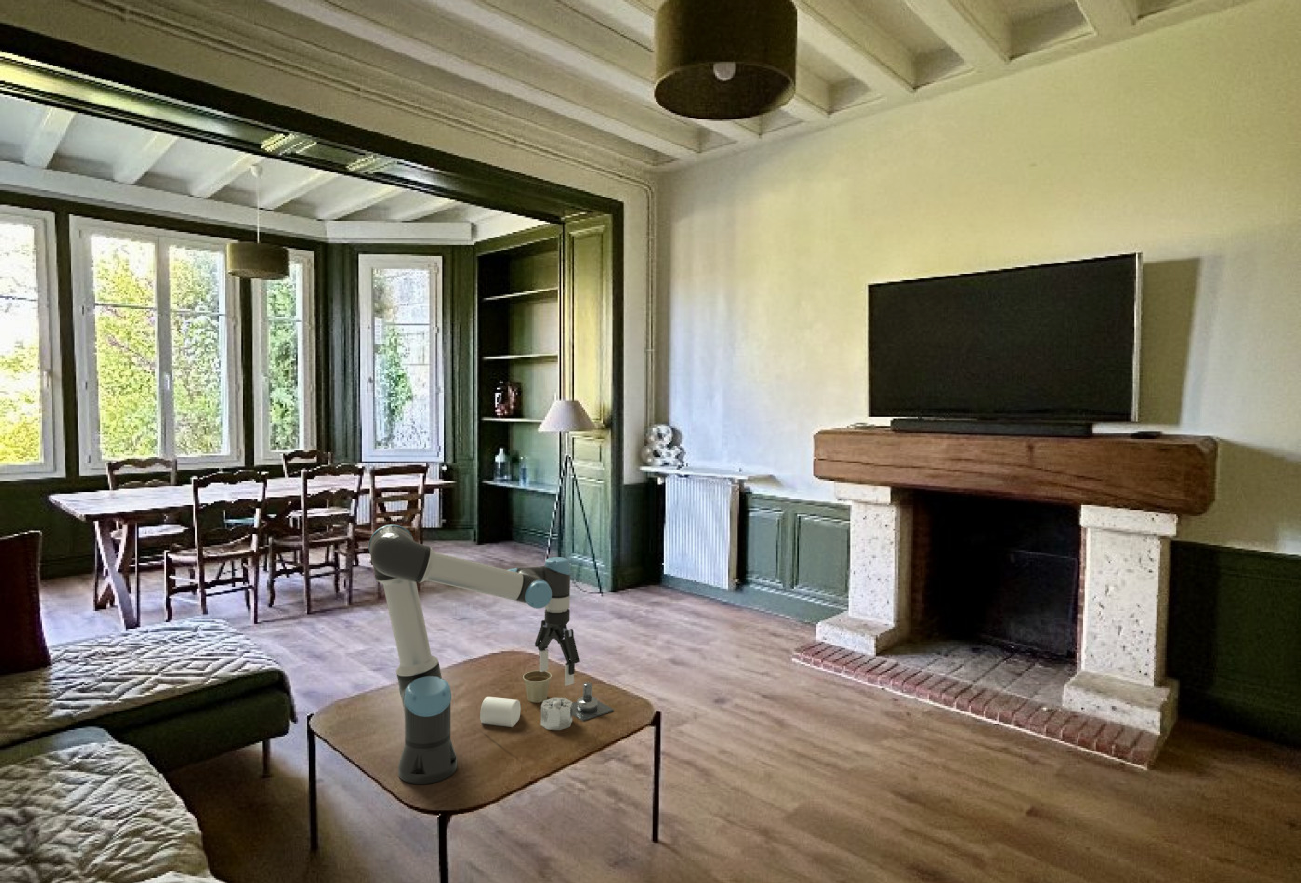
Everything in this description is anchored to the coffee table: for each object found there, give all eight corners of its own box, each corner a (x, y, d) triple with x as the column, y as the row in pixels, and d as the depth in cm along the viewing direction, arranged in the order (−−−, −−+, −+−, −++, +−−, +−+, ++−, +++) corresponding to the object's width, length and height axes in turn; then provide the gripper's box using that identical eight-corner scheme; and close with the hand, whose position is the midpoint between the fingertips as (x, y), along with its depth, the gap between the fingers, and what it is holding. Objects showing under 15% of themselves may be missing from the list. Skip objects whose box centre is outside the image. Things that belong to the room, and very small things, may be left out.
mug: (510, 732, 217) (510, 706, 216) (479, 728, 219) (479, 703, 218) (525, 715, 229) (525, 690, 228) (496, 711, 231) (496, 687, 230)
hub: (582, 724, 223) (583, 695, 222) (560, 711, 232) (561, 682, 231) (613, 713, 230) (614, 685, 230) (591, 701, 240) (591, 673, 239)
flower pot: (543, 709, 233) (543, 683, 232) (517, 705, 236) (517, 679, 235) (556, 698, 242) (556, 672, 241) (531, 693, 245) (531, 668, 244)
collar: (552, 732, 215) (552, 713, 214) (535, 722, 221) (536, 703, 221) (577, 724, 221) (577, 705, 220) (560, 714, 227) (560, 695, 227)
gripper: (592, 616, 213) (590, 687, 214) (544, 597, 231) (543, 662, 233) (571, 621, 208) (570, 693, 209) (524, 601, 226) (523, 668, 228)
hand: (556, 677), depth 221 cm, fingers open, 13 cm apart
